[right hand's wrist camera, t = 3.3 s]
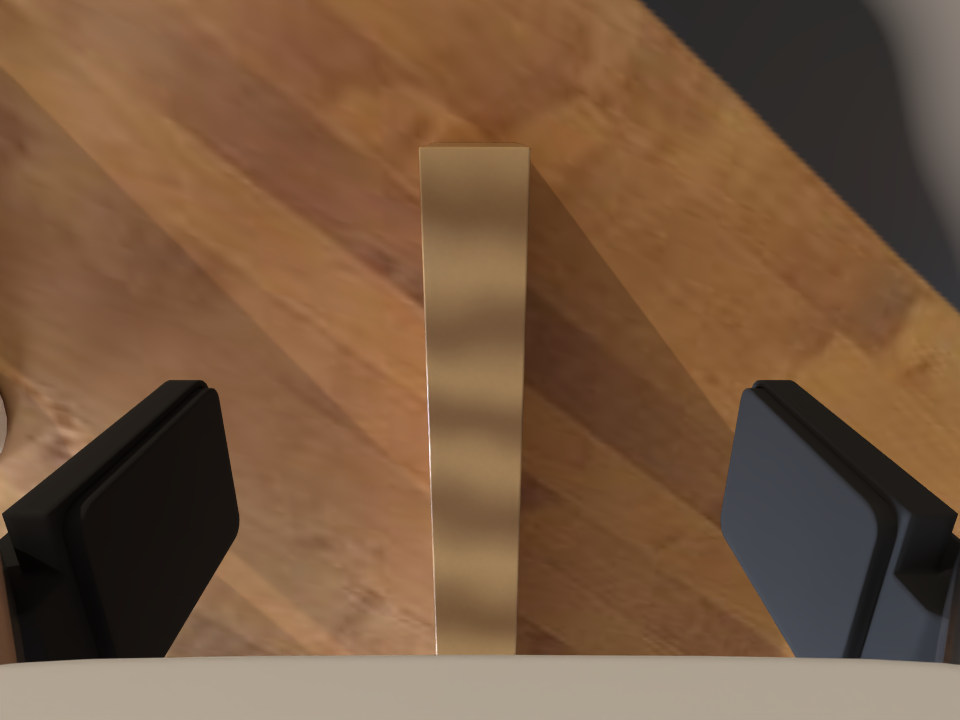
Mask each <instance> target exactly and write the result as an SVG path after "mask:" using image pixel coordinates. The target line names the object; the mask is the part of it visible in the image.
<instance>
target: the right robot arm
mask: <svg viewBox="0 0 960 720" xmlns="http://www.w3.org/2000/svg"><path fill="white" fill-rule="evenodd" d="M6 435H7V417H6V412H5V408H4V403H3V400H2V398H1V396H0V454H1V452H2V450H3V448H4V444H5V440H6ZM2 516H3V518H4V521H5V524H6V527H7V530H8V533H7V534H6V535H5V536H4V537H2V538H1V539H0V720H960V539H959V538H958V537H956V536H955V535H954V534H953V533H952V530H953V527H954V524H955V521H956V518H957V516H958V513H956V512H955V511H954V510H953V509H951V508H950V507H949V506H948V505H946V504H945V503H944V502H943V501H941V500H940V499H939V498H938V497H936V496H935V495H934V494H933V493H932V492H930V491H929V490H928V489H927V488H925V487H924V486H923V485H922V484H920V483H919V482H918V481H917V480H915V479H914V478H913V477H912V476H910V475H909V474H908V473H907V472H905V471H904V470H903V469H902V468H901V467H899V466H898V465H897V464H896V463H894V462H893V461H892V460H891V459H889V458H888V457H887V456H886V455H884V454H883V453H882V452H881V451H879V450H878V449H877V448H876V447H874V446H873V445H872V444H871V443H869V442H868V441H867V440H866V439H865V438H863V437H862V436H861V435H860V434H858V433H857V432H856V431H855V430H853V429H852V428H851V427H850V426H848V425H847V424H846V423H845V422H843V421H842V420H841V419H840V418H838V417H837V416H836V415H835V414H834V413H832V412H831V411H830V410H829V409H827V408H826V407H825V406H824V405H822V404H821V403H820V402H819V401H817V400H816V399H815V398H814V397H812V396H811V395H810V394H809V393H807V392H806V391H805V390H804V389H802V388H801V387H800V386H799V385H798V384H796V383H795V382H793V381H791V380H759V381H756V382H755V383H754V384H753V386H752V388H747V389H745V390H744V391H743V393H742V396H741V401H740V407H739V413H738V418H737V424H736V430H735V436H734V442H733V448H732V453H731V459H730V465H729V471H728V477H727V482H726V488H725V494H724V500H723V506H722V512H721V529H722V533H723V536H724V538H725V540H726V541H727V543H728V545H729V546H730V548H731V550H732V551H733V553H734V555H735V556H736V558H737V560H738V561H739V563H740V565H741V566H742V568H743V570H744V571H745V573H746V575H747V576H748V578H749V580H750V581H751V583H752V585H753V586H754V588H755V590H756V591H757V593H758V595H759V596H760V598H761V600H762V602H763V603H764V605H765V607H766V608H767V610H768V612H769V613H770V615H771V617H772V618H773V620H774V622H775V623H776V625H777V627H778V628H779V630H780V632H781V633H782V635H783V637H784V638H785V640H786V642H787V643H788V645H789V647H790V648H791V650H792V652H793V653H794V655H795V657H796V658H788V657H735V656H617V655H343V656H225V657H172V658H164V657H165V655H166V653H167V652H168V650H169V648H170V647H171V645H172V643H173V642H174V640H175V638H176V637H177V635H178V633H179V632H180V630H181V628H182V627H183V625H184V623H185V622H186V620H187V618H188V617H189V615H190V613H191V612H192V610H193V608H194V607H195V605H196V603H197V602H198V600H199V598H200V596H201V595H202V593H203V591H204V590H205V588H206V586H207V585H208V583H209V581H210V580H211V578H212V576H213V575H214V573H215V571H216V570H217V568H218V566H219V565H220V563H221V561H222V560H223V558H224V556H225V555H226V553H227V551H228V550H229V548H230V546H231V545H232V543H233V541H234V540H235V538H236V536H237V533H238V529H239V512H238V506H237V500H236V494H235V488H234V482H233V477H232V471H231V465H230V459H229V453H228V448H227V442H226V436H225V430H224V424H223V418H222V413H221V407H220V401H219V396H218V393H217V391H216V390H215V389H213V388H208V386H207V384H206V383H205V382H204V381H201V380H169V381H167V382H165V383H164V384H162V385H161V386H160V387H159V388H158V389H156V390H155V391H154V392H153V393H151V394H150V395H149V396H148V397H146V398H145V399H144V400H143V401H141V402H140V403H139V404H138V405H136V406H135V407H134V408H133V409H131V410H130V411H129V412H128V413H126V414H125V415H124V416H123V417H122V418H120V419H119V420H118V421H117V422H115V423H114V424H113V425H112V426H110V427H109V428H108V429H107V430H105V431H104V432H103V433H102V434H100V435H99V436H98V437H97V438H95V439H94V440H93V441H92V442H91V443H89V444H88V445H87V446H86V447H84V448H83V449H82V450H81V451H79V452H78V453H77V454H76V455H74V456H73V457H72V458H71V459H69V460H68V461H67V462H66V463H64V464H63V465H62V466H61V467H59V468H58V469H57V470H56V471H55V472H53V473H52V474H51V475H50V476H48V477H47V478H46V479H45V480H43V481H42V482H41V483H40V484H38V485H37V486H36V487H35V488H33V489H32V490H31V491H30V492H28V493H27V494H26V495H25V496H24V497H22V498H21V499H20V500H19V501H17V502H16V503H15V504H14V505H12V506H11V507H10V508H9V509H7V510H6V511H5V512H4V513H2Z"/></svg>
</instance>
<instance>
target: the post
mask: <svg viewBox="0 0 960 720" xmlns="http://www.w3.org/2000/svg"><path fill="white" fill-rule="evenodd" d="M530 152H531V149H530V147H528V146H525V145H522V144H518V143H431V144H428V145H425V146H422V147H419V171H420V200H421V229H422V258H423V287H424V316H425V345H426V374H427V403H428V432H429V461H430V490H431V519H432V548H433V577H434V607H435V636H436V655H516V643H517V608H518V573H519V538H520V503H521V468H522V433H523V397H524V362H525V327H526V292H527V257H528V222H529V187H530Z"/></svg>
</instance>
